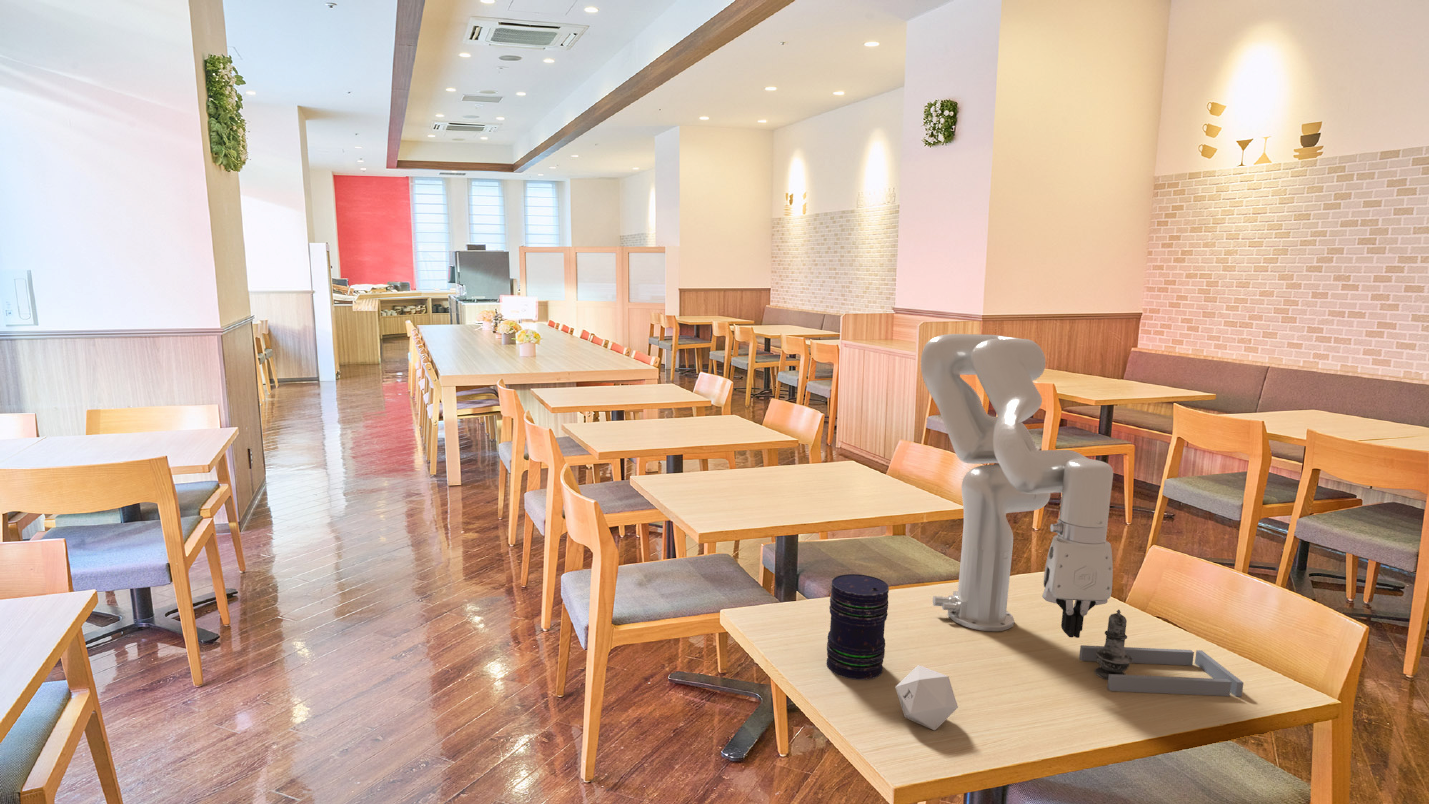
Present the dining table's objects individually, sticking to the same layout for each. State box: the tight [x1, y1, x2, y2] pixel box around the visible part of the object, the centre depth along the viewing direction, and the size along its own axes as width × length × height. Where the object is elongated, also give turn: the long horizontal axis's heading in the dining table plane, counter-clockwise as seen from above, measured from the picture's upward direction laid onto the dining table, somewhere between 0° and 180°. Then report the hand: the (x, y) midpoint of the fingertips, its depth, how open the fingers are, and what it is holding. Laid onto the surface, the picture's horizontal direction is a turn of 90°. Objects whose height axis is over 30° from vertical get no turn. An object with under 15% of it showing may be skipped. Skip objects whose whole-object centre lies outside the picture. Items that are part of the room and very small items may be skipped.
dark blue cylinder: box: [826, 573, 890, 681], centre depth 141 cm, size 10×10×15 cm
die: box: [894, 664, 959, 731], centre depth 125 cm, size 8×9×10 cm
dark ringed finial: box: [1094, 609, 1132, 681], centre depth 142 cm, size 6×6×12 cm
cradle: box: [1078, 644, 1244, 698], centre depth 143 cm, size 22×12×2 cm, turn 90°
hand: (1070, 634), depth 142 cm, fingers closed
